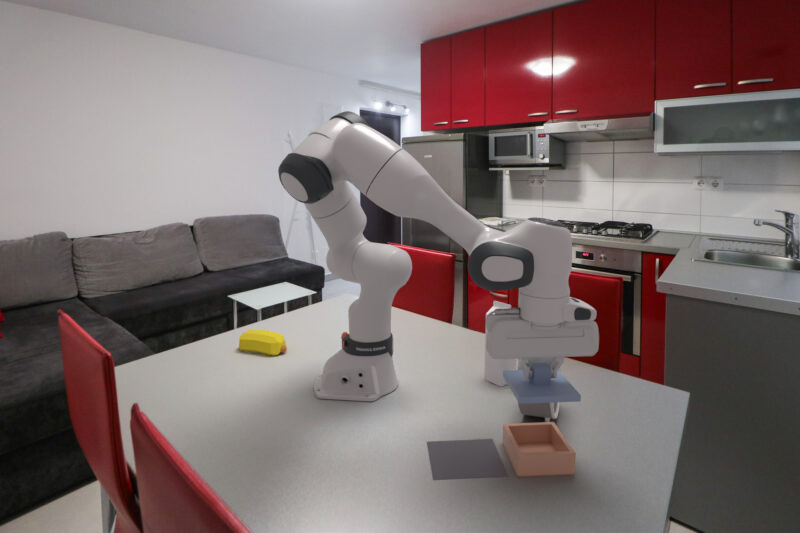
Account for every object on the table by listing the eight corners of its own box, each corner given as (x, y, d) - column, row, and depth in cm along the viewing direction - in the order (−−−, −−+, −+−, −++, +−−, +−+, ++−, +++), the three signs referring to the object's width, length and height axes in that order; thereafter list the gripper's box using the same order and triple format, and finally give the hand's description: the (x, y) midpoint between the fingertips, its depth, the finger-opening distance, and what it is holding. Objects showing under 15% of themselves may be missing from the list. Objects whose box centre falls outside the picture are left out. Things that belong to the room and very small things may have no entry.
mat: (433, 482, 82) (433, 479, 82) (426, 444, 94) (426, 441, 94) (508, 479, 83) (508, 476, 83) (492, 441, 95) (492, 438, 95)
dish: (517, 479, 83) (518, 455, 82) (502, 445, 93) (503, 424, 92) (574, 477, 83) (575, 453, 82) (552, 443, 94) (553, 421, 93)
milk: (501, 387, 118) (503, 307, 114) (483, 379, 123) (485, 302, 118) (515, 380, 122) (518, 303, 117) (498, 372, 127) (500, 298, 122)
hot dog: (248, 343, 153) (232, 352, 146) (246, 325, 151) (230, 332, 144) (293, 350, 146) (279, 359, 139) (291, 330, 145) (277, 339, 138)
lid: (519, 403, 79) (520, 379, 78) (502, 376, 90) (503, 354, 89) (580, 401, 80) (582, 376, 79) (556, 374, 90) (558, 352, 89)
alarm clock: (553, 439, 95) (558, 342, 90) (512, 430, 99) (515, 336, 94) (561, 403, 109) (566, 318, 105) (525, 396, 113) (529, 313, 109)
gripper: (490, 314, 78) (488, 387, 81) (605, 310, 79) (600, 383, 82) (482, 303, 84) (481, 372, 87) (589, 300, 85) (584, 368, 88)
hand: (539, 377), depth 84 cm, fingers closed on lid, 3 cm apart
